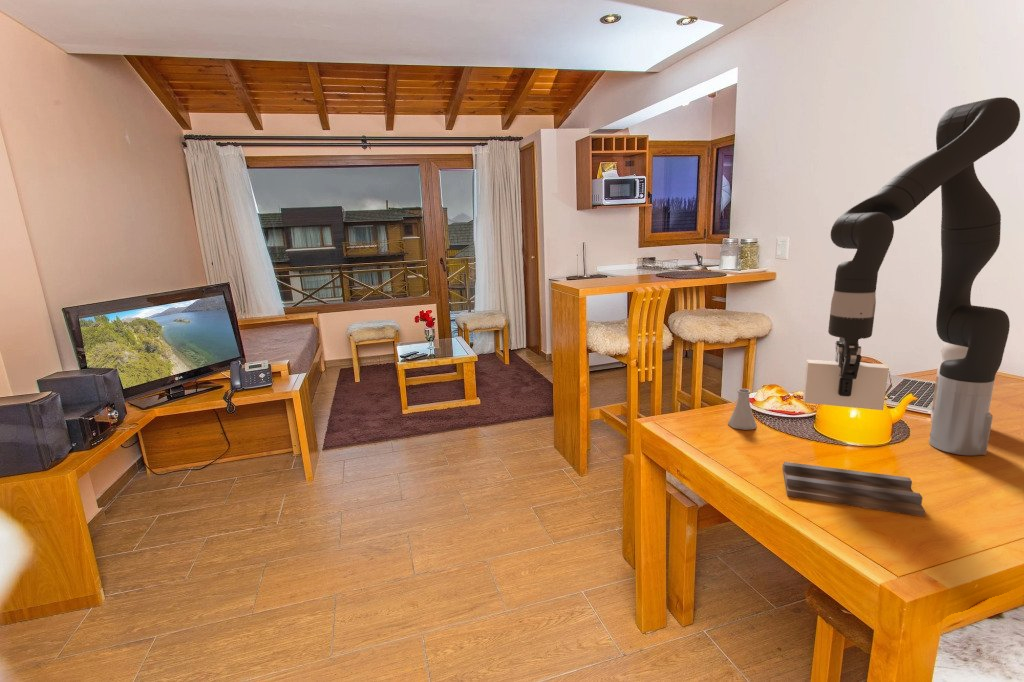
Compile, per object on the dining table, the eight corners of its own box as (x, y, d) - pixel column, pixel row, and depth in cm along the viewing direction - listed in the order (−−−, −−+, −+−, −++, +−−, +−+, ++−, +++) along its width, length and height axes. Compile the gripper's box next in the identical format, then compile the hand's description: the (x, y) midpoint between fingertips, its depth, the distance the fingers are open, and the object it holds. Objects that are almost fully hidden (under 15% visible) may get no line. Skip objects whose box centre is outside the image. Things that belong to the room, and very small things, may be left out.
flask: (760, 431, 129) (762, 395, 127) (730, 430, 130) (732, 394, 128) (752, 420, 136) (755, 386, 134) (724, 420, 137) (726, 385, 135)
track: (904, 484, 100) (906, 472, 100) (924, 516, 90) (926, 503, 89) (782, 468, 109) (783, 457, 109) (787, 495, 99) (788, 483, 98)
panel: (879, 405, 104) (885, 364, 102) (883, 410, 101) (888, 368, 99) (803, 398, 110) (806, 359, 108) (804, 402, 107) (808, 362, 105)
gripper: (882, 320, 93) (871, 406, 97) (866, 308, 105) (857, 384, 109) (835, 318, 96) (826, 401, 100) (825, 307, 109) (818, 381, 112)
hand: (842, 392), depth 105 cm, fingers closed on panel, 3 cm apart
